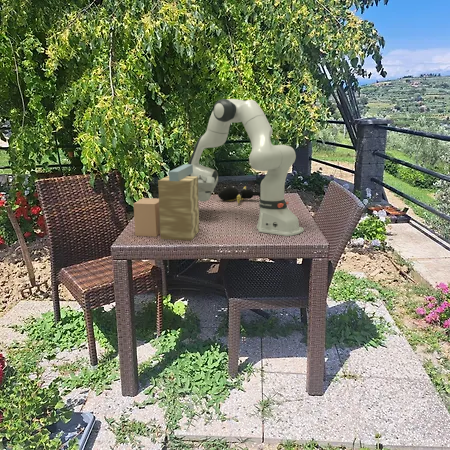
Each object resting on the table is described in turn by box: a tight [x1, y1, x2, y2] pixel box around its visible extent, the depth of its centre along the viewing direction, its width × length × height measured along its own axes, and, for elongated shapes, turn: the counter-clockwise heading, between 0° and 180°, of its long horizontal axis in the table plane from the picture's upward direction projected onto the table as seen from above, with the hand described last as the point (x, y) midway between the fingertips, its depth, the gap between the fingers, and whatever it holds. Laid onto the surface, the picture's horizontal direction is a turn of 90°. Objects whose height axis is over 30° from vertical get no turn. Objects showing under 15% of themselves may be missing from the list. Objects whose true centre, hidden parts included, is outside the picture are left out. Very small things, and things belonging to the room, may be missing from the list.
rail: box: [168, 163, 193, 181], centre depth 199 cm, size 24×4×4 cm, turn 169°
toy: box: [217, 185, 260, 205], centre depth 273 cm, size 31×9×30 cm
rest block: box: [133, 197, 161, 238], centre depth 204 cm, size 12×10×15 cm
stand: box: [157, 175, 200, 241], centre depth 198 cm, size 14×14×26 cm
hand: (191, 176), depth 215 cm, fingers open, 8 cm apart
